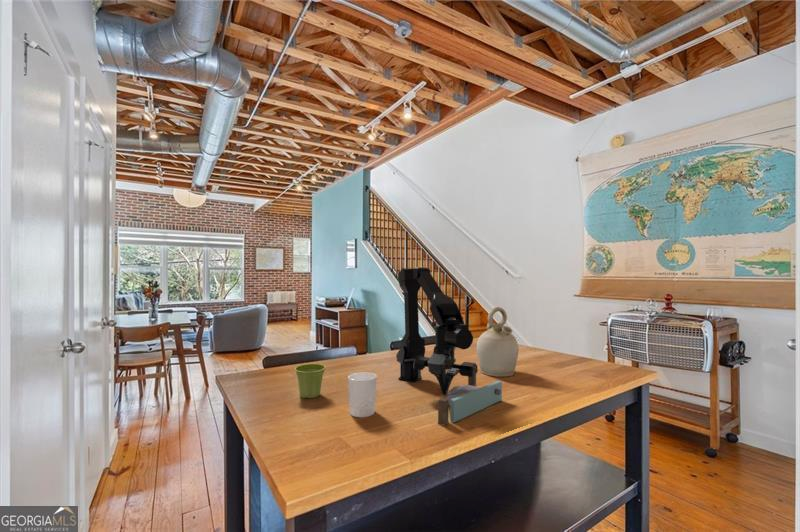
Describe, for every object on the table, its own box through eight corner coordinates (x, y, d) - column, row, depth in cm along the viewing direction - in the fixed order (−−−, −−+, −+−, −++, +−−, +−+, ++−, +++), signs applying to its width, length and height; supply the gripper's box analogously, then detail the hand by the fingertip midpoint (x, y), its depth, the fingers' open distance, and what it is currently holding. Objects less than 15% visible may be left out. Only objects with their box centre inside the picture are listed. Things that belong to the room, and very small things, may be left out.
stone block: (445, 413, 104) (480, 410, 101) (442, 396, 105) (477, 392, 101) (454, 400, 115) (485, 398, 112) (451, 385, 116) (482, 382, 113)
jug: (524, 378, 131) (524, 309, 131) (481, 378, 131) (481, 309, 131) (511, 367, 146) (511, 305, 146) (473, 367, 146) (473, 305, 147)
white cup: (365, 421, 94) (365, 382, 94) (341, 414, 98) (341, 377, 98) (382, 411, 100) (382, 374, 100) (360, 405, 105) (360, 370, 105)
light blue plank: (438, 423, 92) (438, 400, 92) (470, 391, 117) (470, 372, 117) (445, 425, 91) (445, 401, 91) (476, 392, 116) (476, 373, 116)
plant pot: (331, 395, 113) (331, 367, 113) (305, 403, 106) (305, 373, 106) (314, 388, 119) (314, 362, 120) (288, 395, 113) (288, 367, 113)
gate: (450, 421, 93) (450, 399, 93) (498, 398, 110) (498, 380, 110) (457, 423, 92) (457, 402, 92) (505, 400, 108) (505, 382, 108)
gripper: (405, 344, 107) (405, 397, 106) (467, 351, 98) (466, 409, 98) (420, 338, 117) (420, 387, 116) (478, 344, 108) (478, 396, 108)
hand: (444, 394), depth 109 cm, fingers closed
